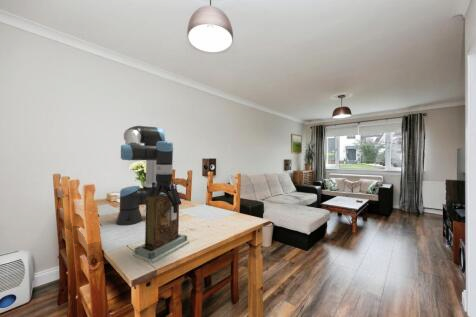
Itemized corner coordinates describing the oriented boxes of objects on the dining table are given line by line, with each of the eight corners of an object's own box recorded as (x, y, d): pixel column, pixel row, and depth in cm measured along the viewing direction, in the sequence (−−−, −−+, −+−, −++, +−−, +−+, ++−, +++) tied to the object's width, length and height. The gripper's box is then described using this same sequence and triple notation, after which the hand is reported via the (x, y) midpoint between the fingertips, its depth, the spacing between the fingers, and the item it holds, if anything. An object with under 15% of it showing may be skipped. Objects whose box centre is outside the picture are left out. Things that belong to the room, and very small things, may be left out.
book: (171, 239, 103) (172, 191, 103) (179, 241, 101) (180, 192, 101) (144, 252, 89) (145, 197, 89) (153, 255, 86) (154, 198, 86)
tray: (132, 254, 88) (132, 247, 88) (169, 237, 108) (169, 231, 108) (154, 263, 82) (154, 255, 82) (189, 242, 101) (189, 236, 101)
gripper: (139, 172, 97) (139, 215, 97) (178, 175, 86) (177, 224, 86) (152, 171, 103) (151, 211, 104) (189, 174, 92) (188, 219, 93)
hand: (163, 217), depth 95 cm, fingers open, 13 cm apart
